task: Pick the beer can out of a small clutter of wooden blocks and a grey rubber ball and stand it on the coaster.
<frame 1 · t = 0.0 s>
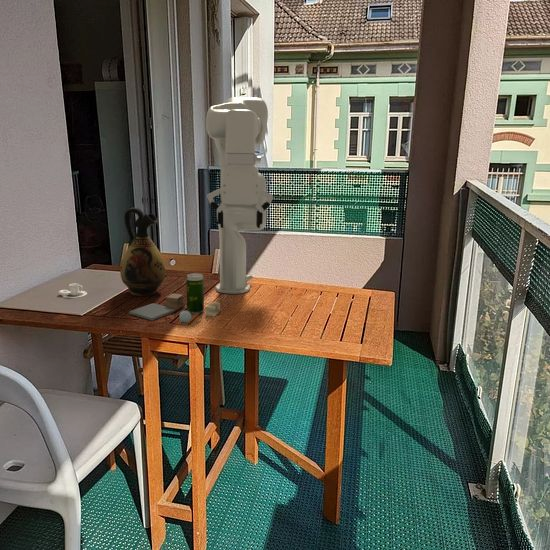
hand: (240, 227, 129), 31 cm above the table, tool pointing down, fingers open, 9 cm apart
grey ball: (185, 316, 147), point 2 cm above the table
teacup and saucer: (72, 294, 173), on the table
coaster: (152, 312, 155), on the table
ceramic jug: (142, 292, 175), on the table
beer can: (195, 311, 157), on the table
beech block: (212, 313, 155), on the table
walnut block: (175, 307, 160), on the table
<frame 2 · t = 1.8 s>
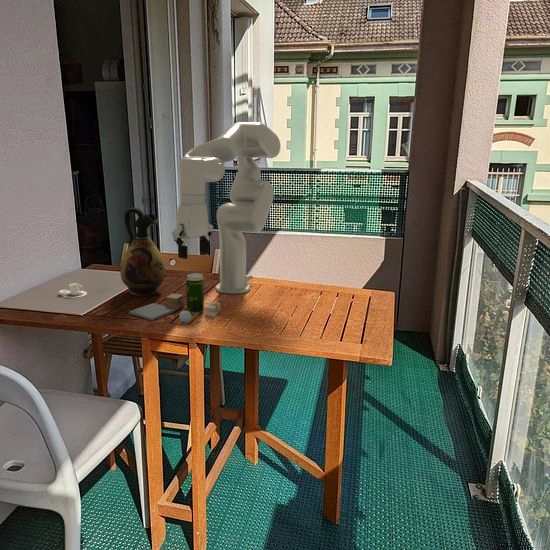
hand: (193, 255, 151), 18 cm above the table, tool pointing down, fingers open, 9 cm apart
nothing on the table moved.
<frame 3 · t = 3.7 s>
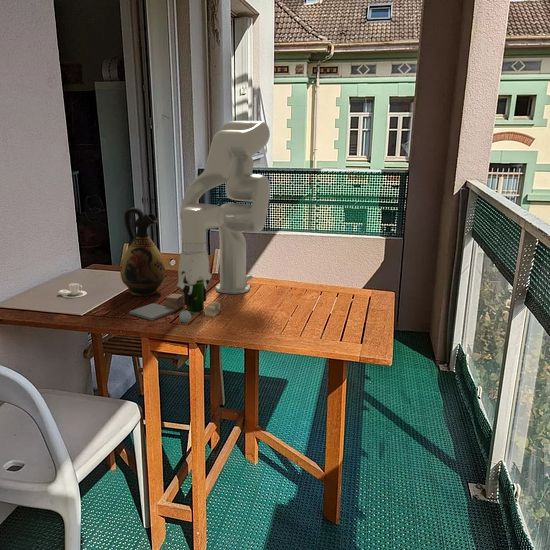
hand: (195, 302, 156), 3 cm above the table, tool pointing down, fingers closed on beer can, 5 cm apart
beer can: (195, 311, 157), on the table, touching gripper
everything else where it was.
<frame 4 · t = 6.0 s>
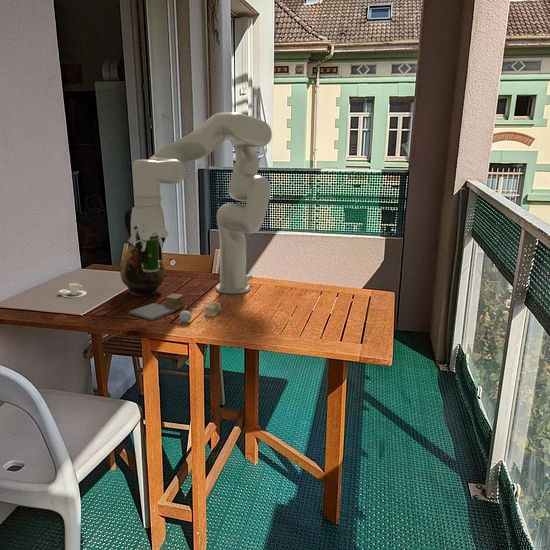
hand: (150, 260, 150), 17 cm above the table, tool pointing down, fingers closed on beer can, 5 cm apart
beer can: (151, 270, 151), point 14 cm above the table, touching gripper
everything else where it was.
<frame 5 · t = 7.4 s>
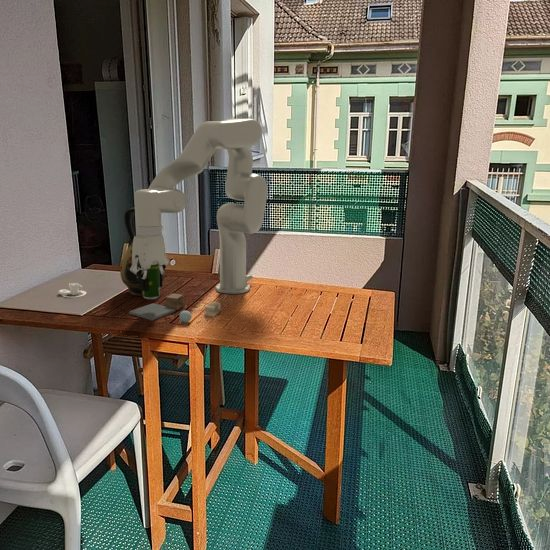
hand: (151, 287, 152), 8 cm above the table, tool pointing down, fingers closed on beer can, 5 cm apart
beer can: (151, 297, 153), point 5 cm above the table, touching gripper
everything else where it was.
when the fingers open (5 cm above the table, at t = 8.5 s): beer can drops 1 cm, resting on coaster.
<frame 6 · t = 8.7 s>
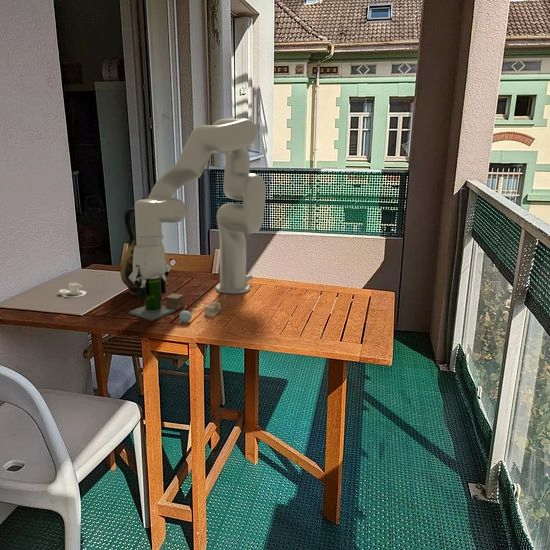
hand: (151, 295, 153), 6 cm above the table, tool pointing down, fingers open, 7 cm apart
beer can: (153, 310, 155), point 1 cm above the table, touching coaster
everything else where it was.
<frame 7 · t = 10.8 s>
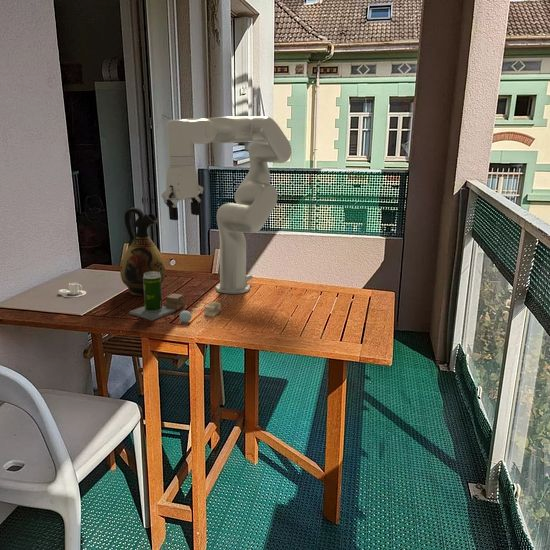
hand: (185, 217, 154), 29 cm above the table, tool pointing down, fingers open, 9 cm apart
nothing on the table moved.
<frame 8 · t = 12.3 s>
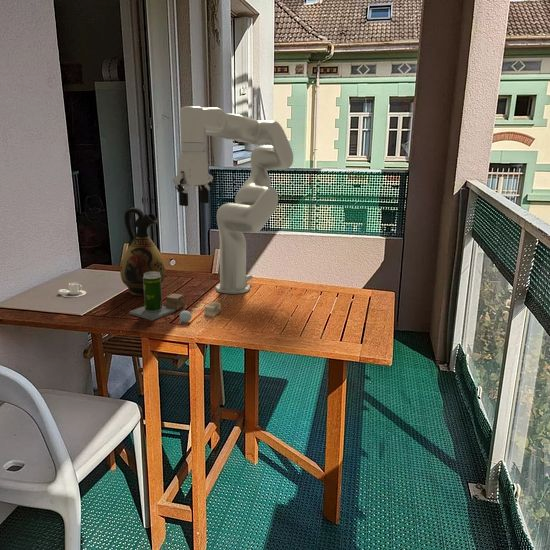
hand: (194, 204, 155), 33 cm above the table, tool pointing down, fingers open, 9 cm apart
nothing on the table moved.
at the end: beer can inside the target area on the coaster (0.3 cm from its centre), point 0.6 cm above the coaster's base; beer can tilted 0°; the gripper is holding nothing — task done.
